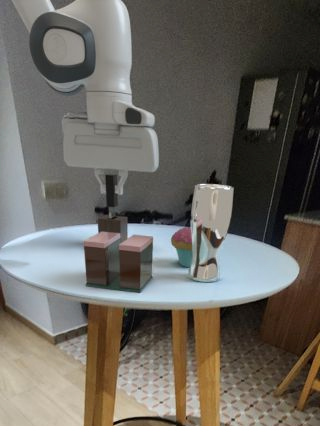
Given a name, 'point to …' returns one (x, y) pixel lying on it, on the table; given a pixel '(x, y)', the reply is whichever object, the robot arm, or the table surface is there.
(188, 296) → the table surface
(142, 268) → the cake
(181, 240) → the cupcake
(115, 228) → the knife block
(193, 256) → the beer glass
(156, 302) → the table surface
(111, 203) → the knife
